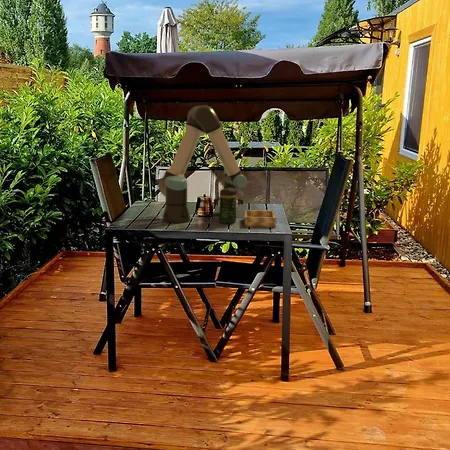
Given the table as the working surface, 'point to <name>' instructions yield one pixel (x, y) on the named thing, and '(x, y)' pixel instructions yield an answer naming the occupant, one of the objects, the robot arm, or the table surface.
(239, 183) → the robot arm
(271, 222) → the pine crate
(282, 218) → the table surface
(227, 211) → the coffee jar
